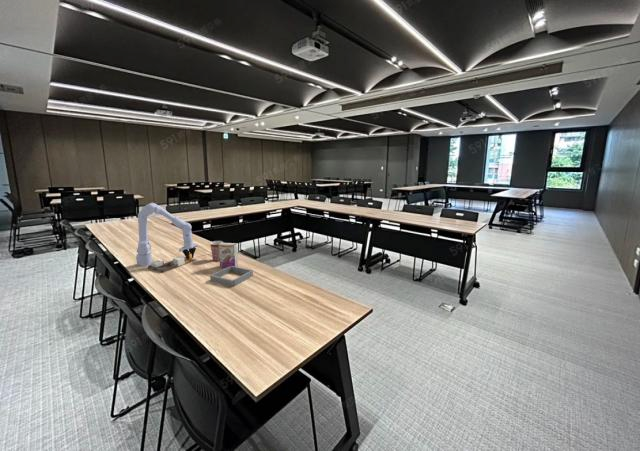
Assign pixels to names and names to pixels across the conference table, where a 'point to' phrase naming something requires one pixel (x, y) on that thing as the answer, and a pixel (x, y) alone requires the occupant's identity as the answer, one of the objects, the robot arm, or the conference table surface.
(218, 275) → the desk tray rim
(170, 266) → the lane rack
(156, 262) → the grey block
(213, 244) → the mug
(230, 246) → the candy bar box
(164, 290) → the conference table surface
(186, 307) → the conference table surface
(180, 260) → the orange mallet
